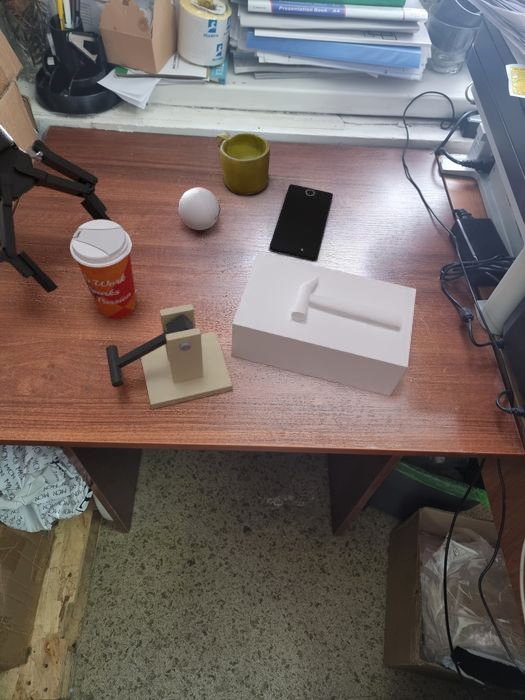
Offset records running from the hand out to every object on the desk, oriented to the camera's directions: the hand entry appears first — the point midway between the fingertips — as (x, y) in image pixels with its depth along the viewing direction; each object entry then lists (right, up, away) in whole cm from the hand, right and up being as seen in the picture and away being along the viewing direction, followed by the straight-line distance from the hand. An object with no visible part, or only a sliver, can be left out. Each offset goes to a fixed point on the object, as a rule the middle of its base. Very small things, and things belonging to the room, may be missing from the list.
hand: (85, 261), depth 76 cm
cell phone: (+34, +11, +19) cm, 41 cm away
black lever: (+12, -13, -7) cm, 19 cm away
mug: (+22, +21, +25) cm, 40 cm away
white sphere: (+15, +11, +18) cm, 26 cm away
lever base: (+15, -17, 0) cm, 22 cm away
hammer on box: (+36, -12, +6) cm, 38 cm away
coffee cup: (+3, -6, +6) cm, 9 cm away
